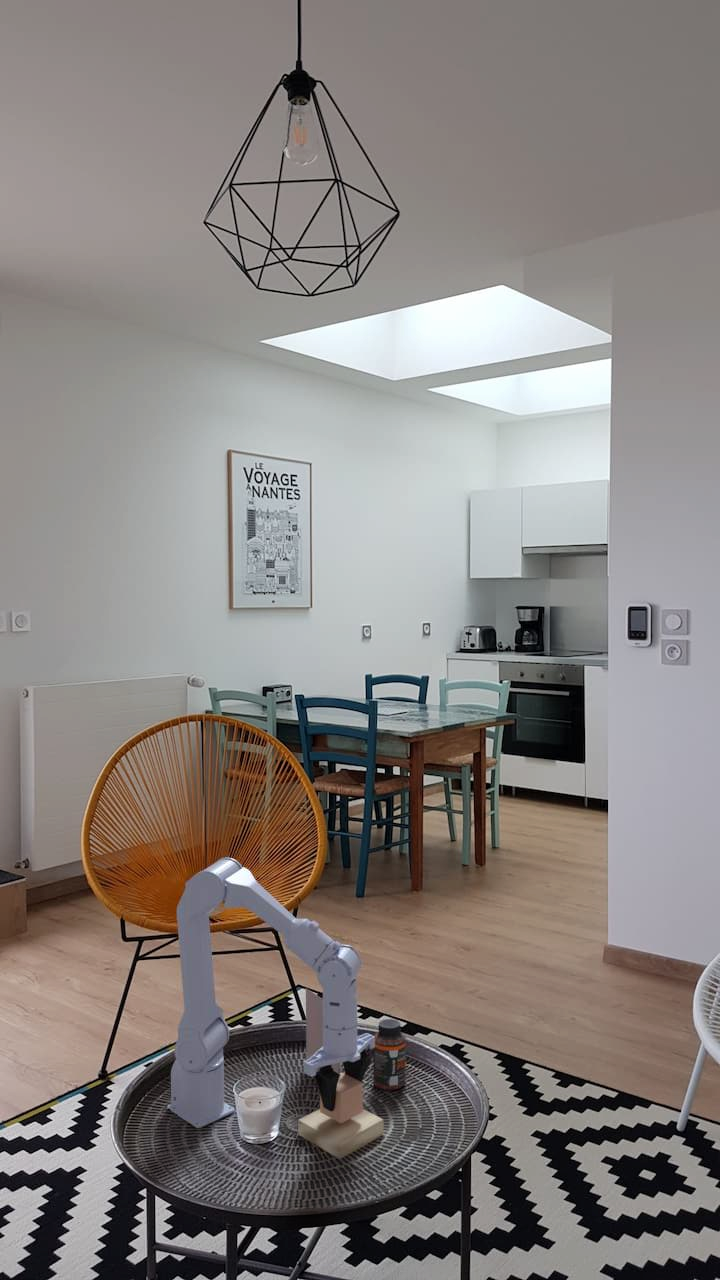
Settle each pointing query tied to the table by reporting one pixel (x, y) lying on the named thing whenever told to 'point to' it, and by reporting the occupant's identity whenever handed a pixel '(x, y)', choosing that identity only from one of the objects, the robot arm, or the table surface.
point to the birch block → (340, 1132)
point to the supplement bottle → (389, 1056)
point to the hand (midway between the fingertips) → (340, 1102)
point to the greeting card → (315, 1026)
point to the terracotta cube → (346, 1099)
